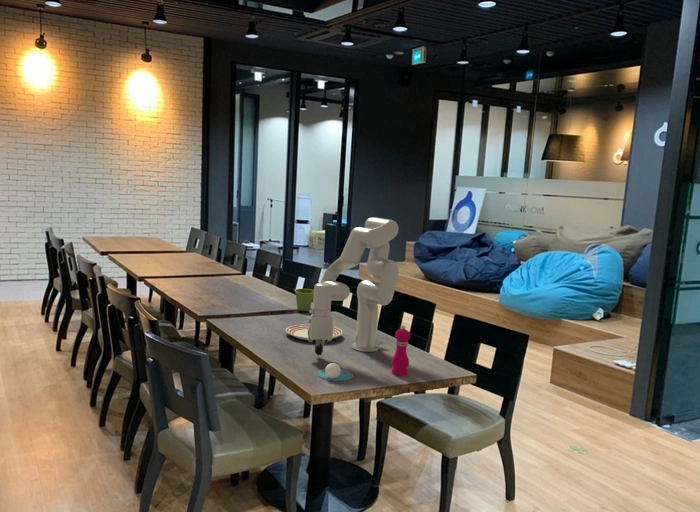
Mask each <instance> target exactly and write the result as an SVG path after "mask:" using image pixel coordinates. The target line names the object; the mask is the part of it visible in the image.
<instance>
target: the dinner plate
mask: <svg viewBox="0 0 700 512" xmlns="http://www.w3.org/2000/svg"><path fill="white" fill-rule="evenodd" d="M308 326H309V323H303V324H302V323H300V324H296V325H291V326H288V327H287V328H285V332H286V333H287V334H288V335H290V336H292V337H294V338H296V339H300V340H303V341H307V338H308ZM341 335H343V330H342V329H341V328H339V327H336V326H333V337H332V340H333V339H336V338H338V337H340V336H341ZM319 342H320V340H319Z"/></svg>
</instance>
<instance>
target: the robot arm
mask: <svg viewBox="0 0 700 512" xmlns="http://www.w3.org/2000/svg"><path fill="white" fill-rule="evenodd" d="M364 222H365V223H364V227H363V226H362V227H361V226H358V227H354V228H353V229H352V230H351V232H350V234H349V236H348V238H347V241H346V243H345V246H344V247H343V250H342V252H341V254H340V256H339V258H337V259H336V260H335V261H334V262H332V263H331V264H330V265H329V266H328V267H327V269H326V270H325V272H324V273H323V276H322V278H321V280H320V282H318V283H316V284H314V286H313V290H314V296H313V299H312V308H311V309H310V311H308V313H310V314H311V315H310V318H309V321H308V324H309V326H308V338H307V340H308V341H307V340H306V341H307V342H310V343H313V344H314V345H315V346H314V352H315V355H317V356H322V354H323V352H324V351H323V350H324V346H325V345H326V344H327V343H328V342H331V341H332V340H333V339H332V337H333V327H334V320H333V316H332V315H331V309H332V307H331V306H332V301H346V299H347V298H349V296H350V293H351V291H350V288H349V285H347V284H345V283H343V282H339V281H337V278H338V277H339V275H341V273H344V272H345V271H348V270H349V269H352V268H354V267H357V266H358V265H359V264H360V261H361V259H362V257H363V255H364V252H365V249H366V248H367V249H370V250H369V254H368V259H367V262H366V266H365V272H366V275H367V276H368V277H371V278H374V279H377V280H380V281H376V280H372V279H364V280H361V281H360V282H359V283H358V285H357V289H356V294H357V295H356V296H357V313H356V314H357V315H356V318H357V319H356V329H355V341H354V342H353V343H351V348H352V349H354V350H355V351H358V352H365V353H366V352H368V353H371V352H377V351H379V349H380V345H386V344H387V341H386V339H384V340H383V339H381V338H380V339H378V336H377V334H378V323H379V321H378V320H379V305H380V306H386V305H389V304H390V303H391V301H392V300H393V297H394V295H395V290H396V286H397V283H398V278H399V275H400V271H399V270H400V269H399V265H398V264H397V262H396V261H395V260H392V259H389V254H390V249H391V247H390V243H389V242H390V241H392V240H394V238H396V236H397V235H398V233H399V224H398V223H397V222H396V221H395V220H392V219H389V218H388V219H387V218H382V217H381V218H380V217H374V216H373V217H369V218H367V219H366V221H364ZM319 340H320V341H319Z"/></svg>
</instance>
